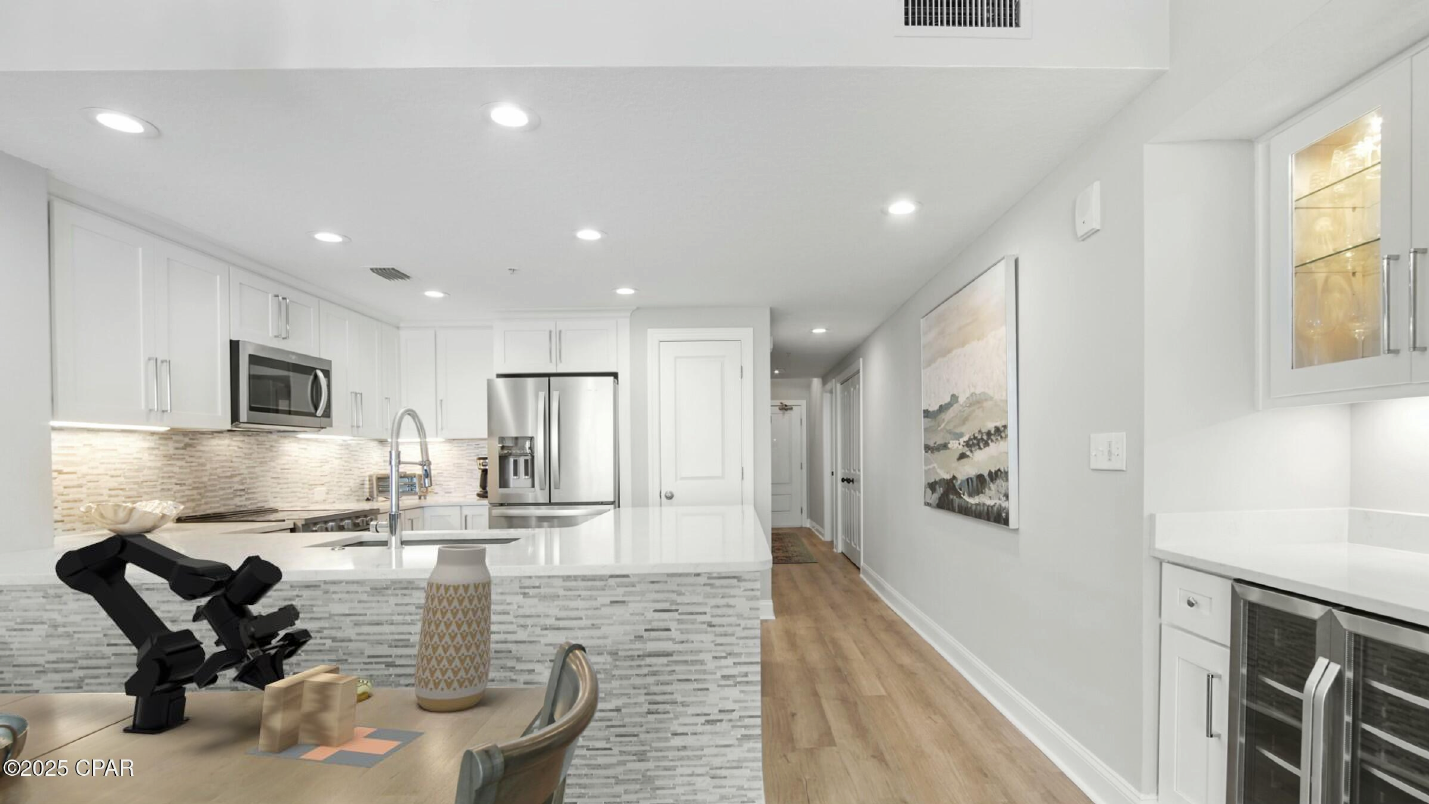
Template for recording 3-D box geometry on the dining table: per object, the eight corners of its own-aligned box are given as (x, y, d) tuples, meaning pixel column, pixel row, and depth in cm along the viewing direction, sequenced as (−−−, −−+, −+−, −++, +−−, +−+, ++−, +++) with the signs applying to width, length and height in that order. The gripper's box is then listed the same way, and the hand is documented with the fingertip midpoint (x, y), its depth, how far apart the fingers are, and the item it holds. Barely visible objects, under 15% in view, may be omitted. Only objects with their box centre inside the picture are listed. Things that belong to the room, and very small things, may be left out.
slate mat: (243, 757, 101) (244, 753, 101) (312, 724, 115) (312, 720, 115) (369, 771, 97) (370, 767, 97) (425, 736, 111) (425, 732, 111)
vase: (502, 700, 130) (512, 546, 133) (448, 723, 117) (461, 552, 121) (452, 689, 135) (463, 541, 139) (395, 709, 123) (409, 546, 127)
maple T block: (258, 751, 102) (265, 685, 103) (316, 723, 113) (321, 664, 115) (316, 758, 100) (323, 691, 101) (369, 729, 112) (374, 669, 113)
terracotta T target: (298, 761, 100) (298, 757, 100) (357, 730, 113) (357, 726, 113) (364, 769, 98) (365, 765, 98) (416, 736, 111) (417, 732, 111)
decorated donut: (324, 715, 120) (326, 694, 120) (299, 702, 126) (301, 682, 126) (380, 700, 128) (382, 681, 128) (354, 689, 134) (355, 670, 135)
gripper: (217, 601, 102) (270, 679, 99) (308, 583, 121) (355, 648, 118) (169, 649, 103) (220, 728, 100) (267, 624, 121) (313, 690, 118)
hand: (283, 695), depth 109 cm, fingers closed
